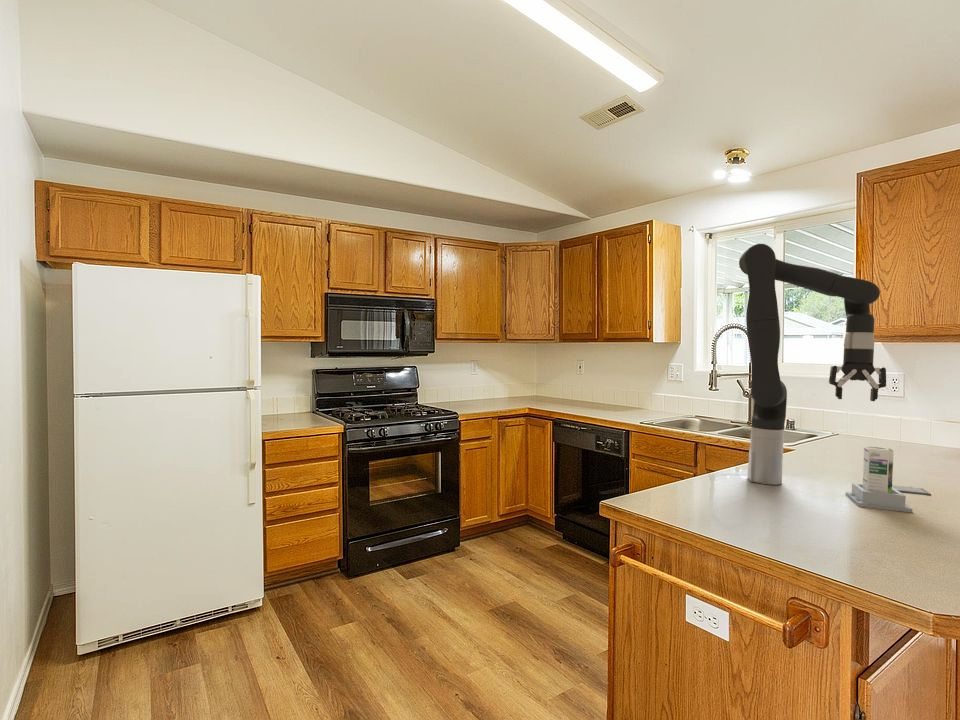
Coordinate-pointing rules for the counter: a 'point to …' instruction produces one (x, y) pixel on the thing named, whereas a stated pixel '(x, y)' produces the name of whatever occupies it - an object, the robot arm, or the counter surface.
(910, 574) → the counter surface
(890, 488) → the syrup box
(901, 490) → the slab
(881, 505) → the grey square socket
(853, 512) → the counter surface
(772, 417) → the robot arm
